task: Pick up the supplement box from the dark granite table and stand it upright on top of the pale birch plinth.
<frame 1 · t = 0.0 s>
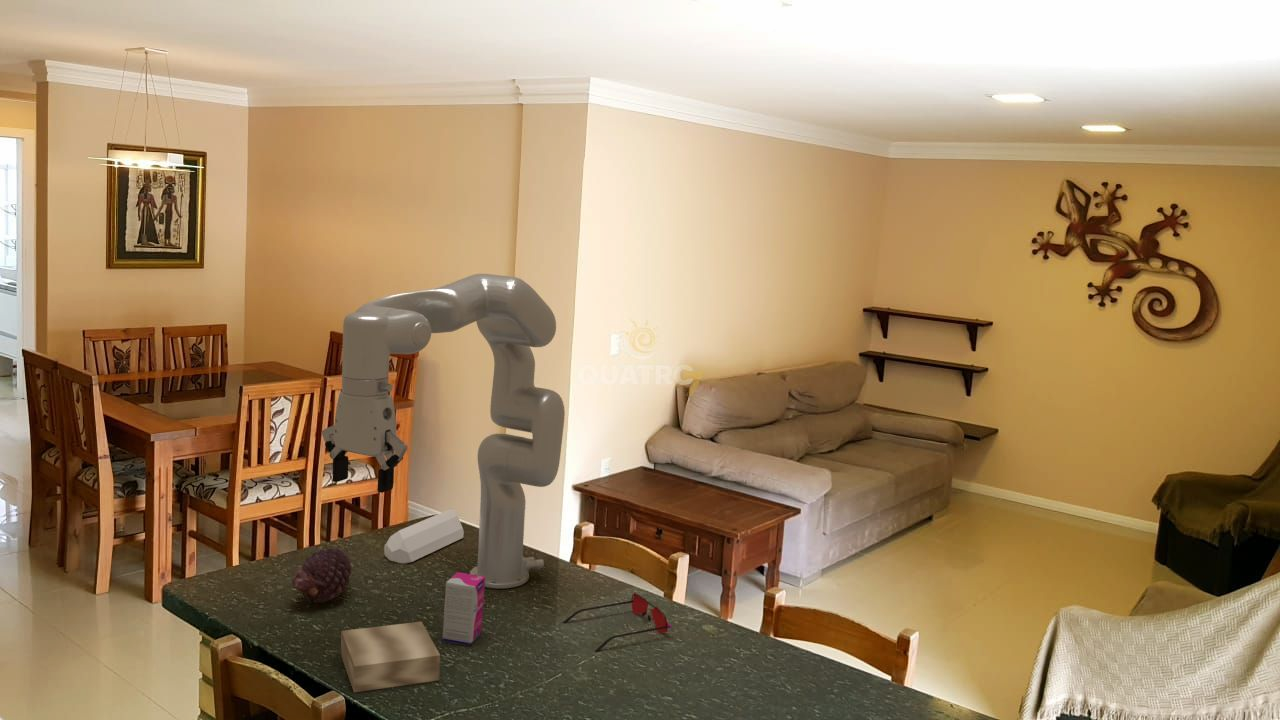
hand: (362, 485, 169), 31 cm above the table, tool pointing down, fingers open, 9 cm apart
birch plinth: (389, 667, 171), on the table
glasses: (616, 632, 193), on the table
purple hedgehog toy: (326, 598, 198), on the table
supplement box: (462, 638, 185), on the table
white chamfered bar: (425, 549, 229), on the table
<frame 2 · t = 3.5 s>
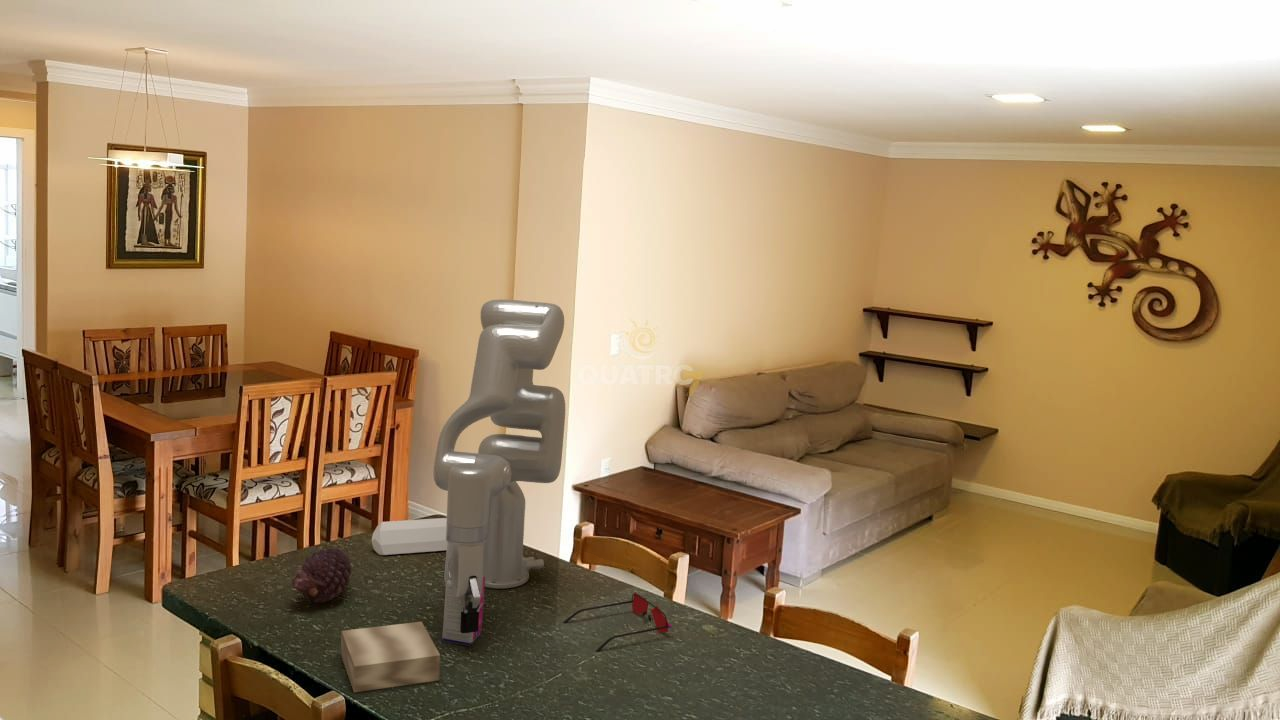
hand: (463, 621, 184), 3 cm above the table, tool pointing down, fingers closed on supplement box, 7 cm apart
supplement box: (462, 638, 185), on the table, touching gripper
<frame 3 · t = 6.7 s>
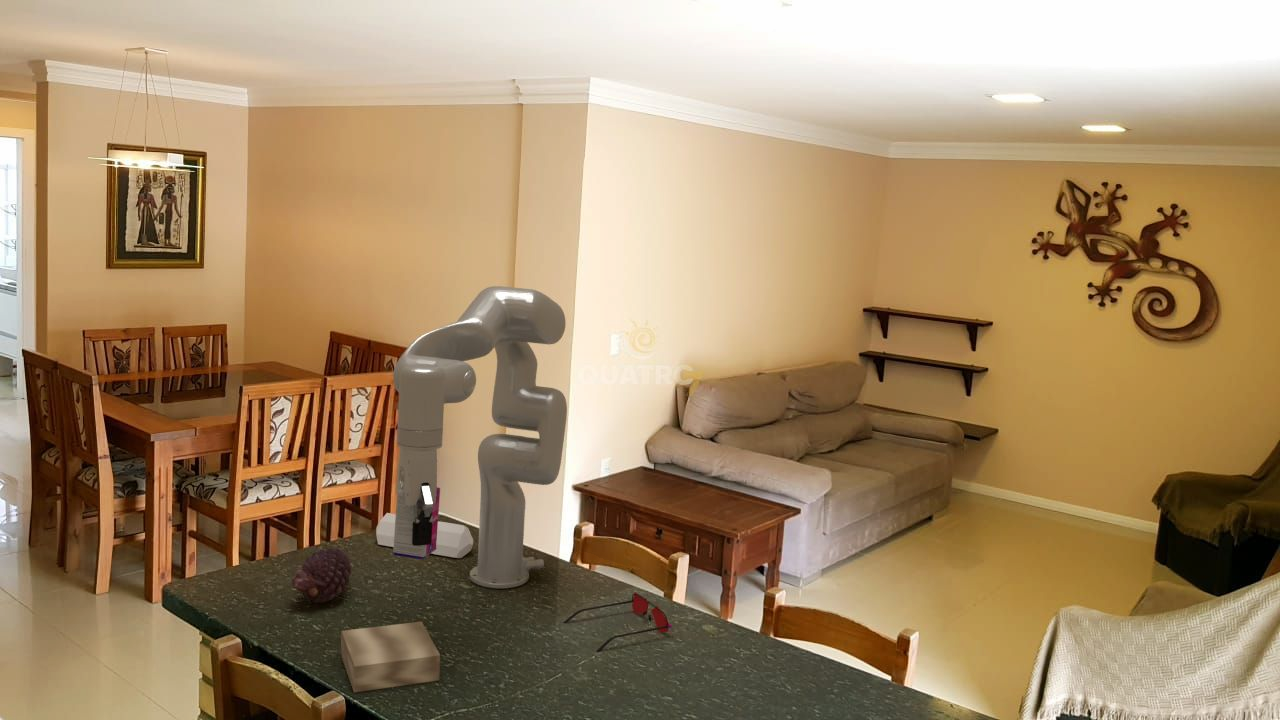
hand: (415, 536, 171), 23 cm above the table, tool pointing down, fingers closed on supplement box, 7 cm apart
supplement box: (415, 553, 172), point 19 cm above the table, touching gripper
when the fingers open (9 cm above the table, at t = 10.2 s): supplement box drops 1 cm, resting on birch plinth.
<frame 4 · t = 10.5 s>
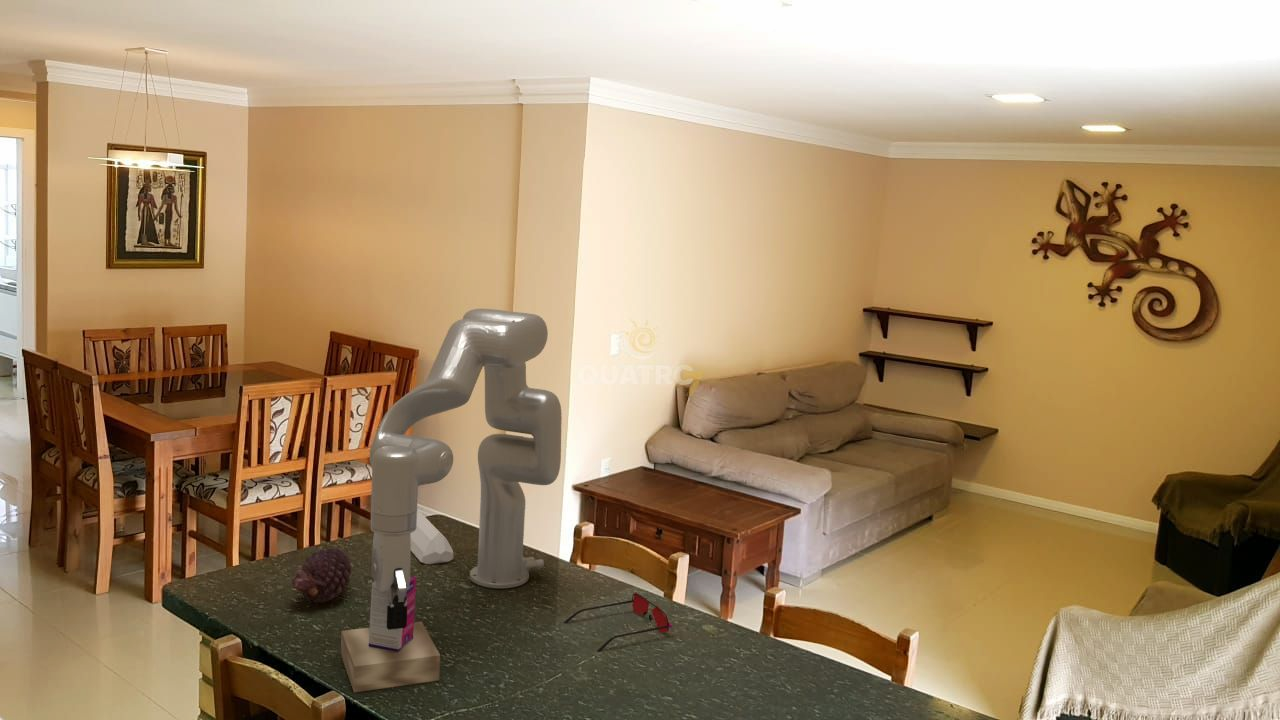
hand: (390, 616, 170), 9 cm above the table, tool pointing down, fingers open, 9 cm apart
supplement box: (391, 644, 170), point 4 cm above the table, touching birch plinth
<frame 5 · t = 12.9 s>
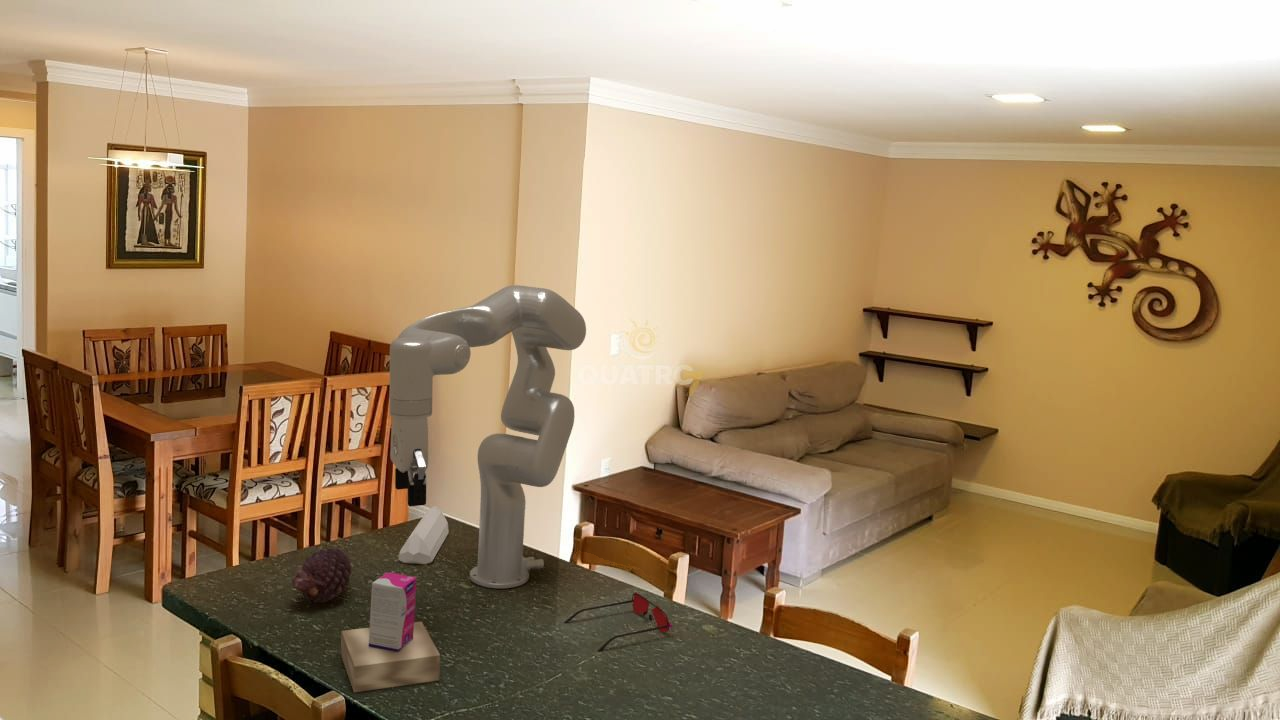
hand: (410, 496, 183), 26 cm above the table, tool pointing down, fingers open, 9 cm apart
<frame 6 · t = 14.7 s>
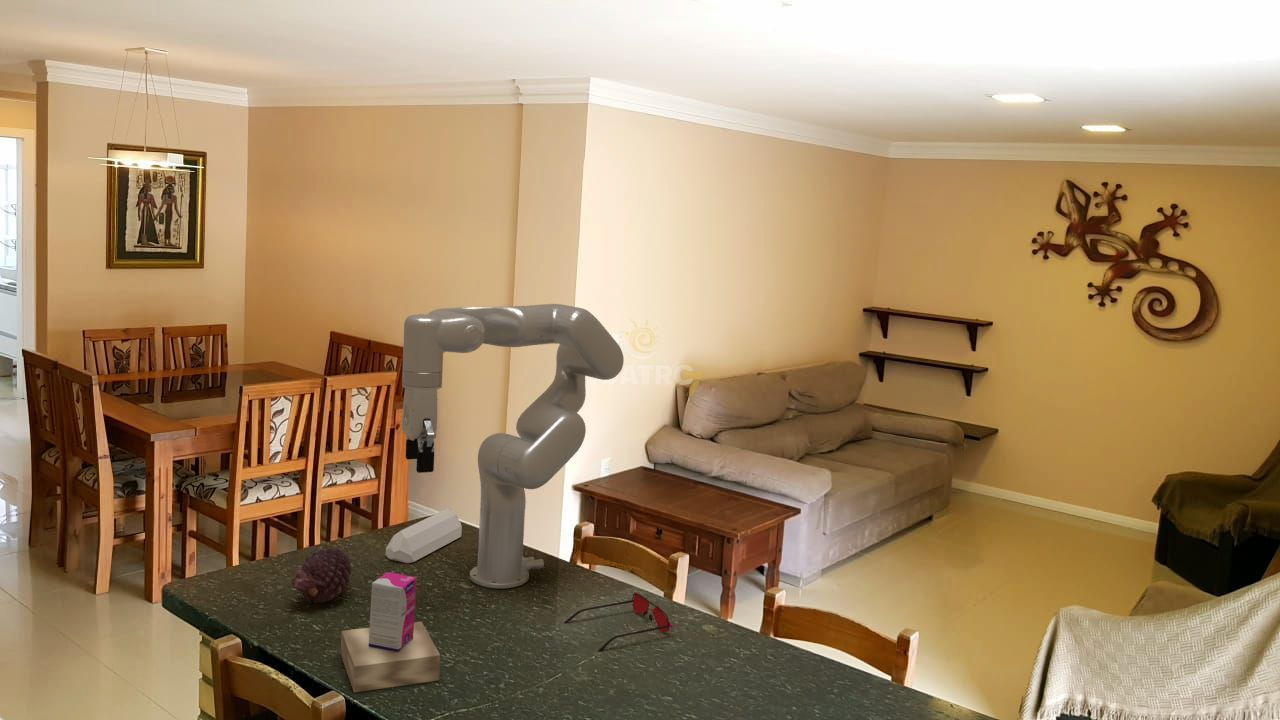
hand: (419, 465, 194), 28 cm above the table, tool pointing down, fingers open, 9 cm apart
at the end: supplement box inside the target area on the birch plinth (0.3 cm from its centre), point 4.3 cm above the birch plinth's base; supplement box tilted 0°; the gripper is holding nothing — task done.
